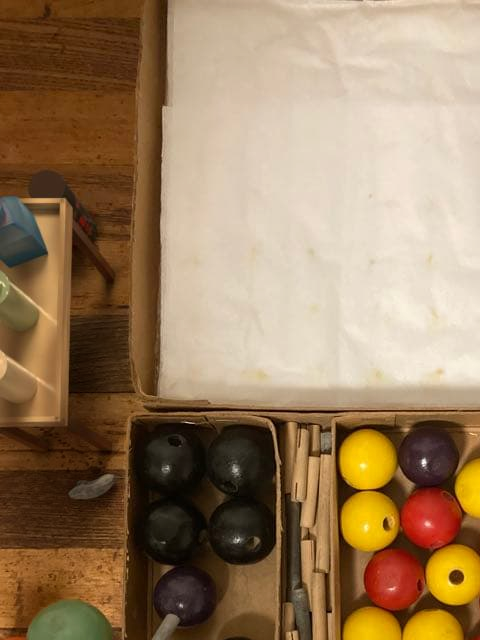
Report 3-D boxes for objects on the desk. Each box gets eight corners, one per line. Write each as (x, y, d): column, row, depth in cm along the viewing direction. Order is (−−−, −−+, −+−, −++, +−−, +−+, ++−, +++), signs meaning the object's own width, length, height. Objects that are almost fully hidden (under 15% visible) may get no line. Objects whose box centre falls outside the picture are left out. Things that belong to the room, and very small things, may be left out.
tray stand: (34, 455, 147) (-38, 422, 122) (40, 268, 150) (-30, 198, 125) (115, 455, 147) (59, 421, 122) (118, 267, 150) (65, 197, 125)
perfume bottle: (34, 216, 127) (-3, 174, 115) (48, 253, 127) (13, 215, 115) (-5, 231, 127) (-46, 190, 115) (9, 268, 126) (-30, 231, 114)
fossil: (116, 471, 147) (107, 466, 142) (123, 489, 146) (114, 485, 142) (71, 488, 146) (60, 484, 141) (78, 507, 146) (67, 503, 141)
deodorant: (60, 242, 150) (24, 201, 136) (67, 211, 151) (32, 167, 136) (93, 249, 150) (60, 208, 136) (100, 217, 151) (68, 173, 136)
